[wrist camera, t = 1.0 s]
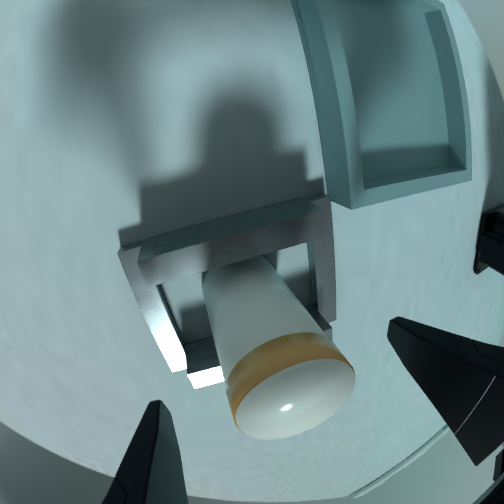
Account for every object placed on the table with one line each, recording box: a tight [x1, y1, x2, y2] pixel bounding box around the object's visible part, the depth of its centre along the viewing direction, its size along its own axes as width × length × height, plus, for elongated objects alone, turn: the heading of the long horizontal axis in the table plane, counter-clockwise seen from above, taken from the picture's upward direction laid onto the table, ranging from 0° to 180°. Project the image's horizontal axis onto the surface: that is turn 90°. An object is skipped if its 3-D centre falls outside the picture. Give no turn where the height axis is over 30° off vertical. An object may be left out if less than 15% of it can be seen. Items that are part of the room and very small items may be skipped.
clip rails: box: [117, 193, 336, 388], centre depth 14 cm, size 10×8×2 cm
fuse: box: [203, 255, 355, 440], centre depth 11 cm, size 4×4×8 cm
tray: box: [291, 0, 472, 210], centre depth 11 cm, size 11×13×2 cm
